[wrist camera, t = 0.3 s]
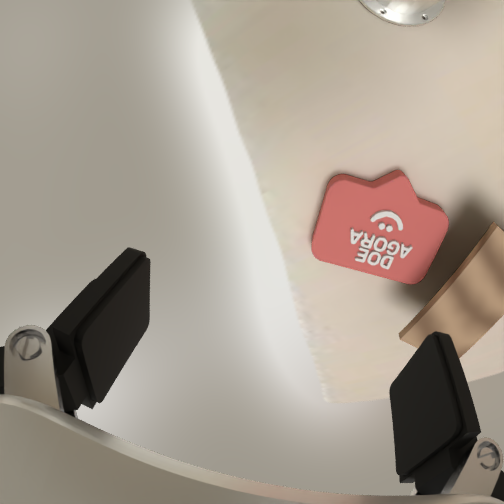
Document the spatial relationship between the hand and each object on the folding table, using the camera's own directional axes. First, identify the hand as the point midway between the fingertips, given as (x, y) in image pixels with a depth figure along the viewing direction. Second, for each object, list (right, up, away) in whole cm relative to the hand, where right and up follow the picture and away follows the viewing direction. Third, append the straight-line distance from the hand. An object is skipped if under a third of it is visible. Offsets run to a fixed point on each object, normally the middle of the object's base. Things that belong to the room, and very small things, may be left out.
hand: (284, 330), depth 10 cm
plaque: (+17, +7, +33) cm, 38 cm away
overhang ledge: (+30, 0, +33) cm, 45 cm away
